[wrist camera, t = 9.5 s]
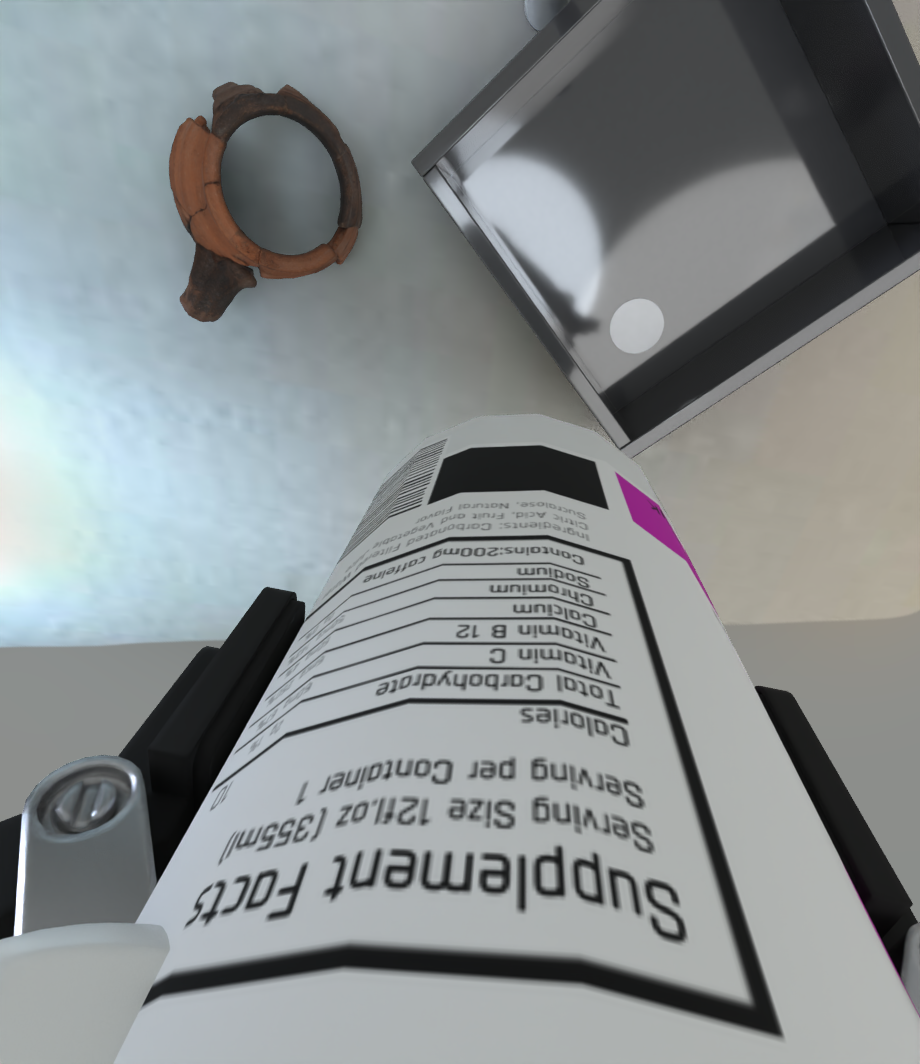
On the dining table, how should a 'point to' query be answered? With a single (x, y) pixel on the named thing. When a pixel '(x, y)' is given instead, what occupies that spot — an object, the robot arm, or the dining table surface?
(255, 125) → the dining table surface
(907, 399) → the dining table surface
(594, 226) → the sink
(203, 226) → the pottery mug
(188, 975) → the supplement can
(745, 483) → the dining table surface
